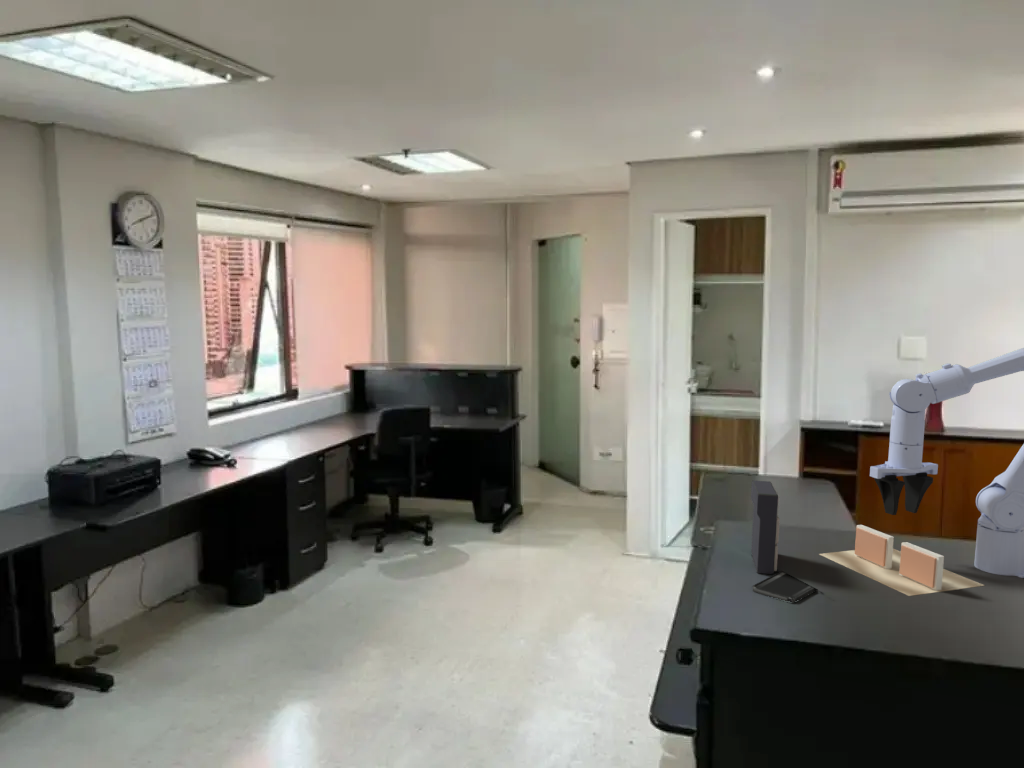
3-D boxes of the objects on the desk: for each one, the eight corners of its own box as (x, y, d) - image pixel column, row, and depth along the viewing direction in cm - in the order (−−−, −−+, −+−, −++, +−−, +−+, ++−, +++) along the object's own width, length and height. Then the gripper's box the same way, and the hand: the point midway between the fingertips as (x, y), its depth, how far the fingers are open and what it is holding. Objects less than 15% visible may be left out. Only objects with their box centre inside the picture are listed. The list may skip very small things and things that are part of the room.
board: (887, 550, 157) (887, 546, 157) (984, 589, 136) (984, 585, 136) (818, 557, 151) (818, 553, 151) (908, 600, 131) (909, 595, 130)
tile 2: (904, 573, 141) (906, 541, 140) (941, 589, 133) (944, 556, 133) (897, 574, 140) (899, 542, 140) (934, 590, 133) (936, 557, 132)
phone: (750, 586, 134) (790, 566, 144) (749, 593, 134) (789, 572, 144) (794, 600, 128) (832, 577, 138) (793, 606, 128) (831, 583, 139)
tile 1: (859, 554, 151) (861, 524, 151) (891, 568, 144) (893, 537, 143) (852, 555, 151) (854, 525, 150) (884, 569, 143) (886, 537, 142)
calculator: (778, 575, 141) (782, 495, 140) (753, 573, 142) (757, 493, 140) (770, 556, 152) (774, 481, 150) (747, 554, 153) (751, 479, 151)
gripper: (918, 437, 153) (913, 504, 154) (859, 440, 148) (855, 509, 150) (949, 444, 146) (943, 514, 148) (888, 447, 141) (883, 519, 143)
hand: (900, 512), depth 148 cm, fingers open, 4 cm apart
